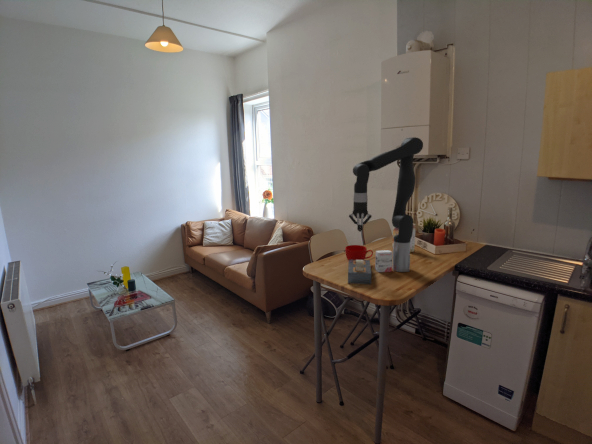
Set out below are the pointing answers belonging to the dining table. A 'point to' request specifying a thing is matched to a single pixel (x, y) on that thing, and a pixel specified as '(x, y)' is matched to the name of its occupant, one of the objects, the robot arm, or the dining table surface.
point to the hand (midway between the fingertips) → (359, 231)
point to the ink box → (383, 261)
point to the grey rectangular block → (359, 265)
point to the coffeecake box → (412, 241)
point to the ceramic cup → (356, 252)
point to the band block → (359, 273)
